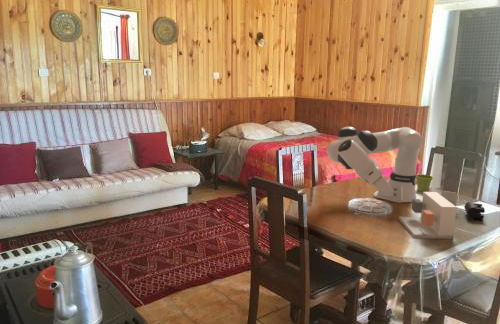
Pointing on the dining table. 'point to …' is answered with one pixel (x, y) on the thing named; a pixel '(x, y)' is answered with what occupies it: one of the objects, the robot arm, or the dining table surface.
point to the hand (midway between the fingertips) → (391, 195)
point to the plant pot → (423, 182)
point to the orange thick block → (428, 217)
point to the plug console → (441, 226)
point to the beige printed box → (450, 196)
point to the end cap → (474, 211)
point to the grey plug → (417, 205)
